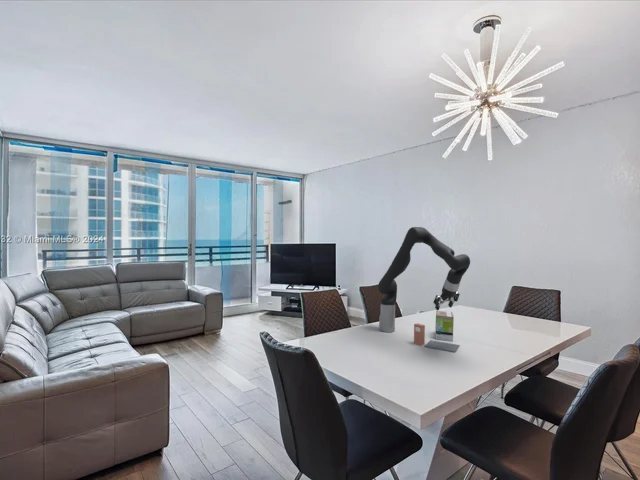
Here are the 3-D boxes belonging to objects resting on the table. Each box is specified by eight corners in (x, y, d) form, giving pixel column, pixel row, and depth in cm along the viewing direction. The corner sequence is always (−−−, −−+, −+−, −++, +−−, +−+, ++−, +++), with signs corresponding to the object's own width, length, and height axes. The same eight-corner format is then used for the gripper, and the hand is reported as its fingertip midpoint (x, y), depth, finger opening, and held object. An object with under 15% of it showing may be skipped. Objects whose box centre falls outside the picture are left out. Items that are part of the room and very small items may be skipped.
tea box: (453, 341, 197) (453, 316, 197) (435, 339, 201) (435, 315, 201) (452, 334, 212) (452, 311, 212) (435, 333, 215) (435, 309, 215)
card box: (421, 345, 189) (421, 325, 189) (413, 343, 193) (414, 324, 193) (424, 344, 191) (424, 325, 191) (417, 342, 195) (417, 323, 195)
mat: (424, 346, 187) (424, 345, 187) (430, 341, 198) (430, 340, 198) (455, 352, 178) (455, 351, 178) (459, 346, 189) (459, 344, 189)
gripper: (457, 279, 186) (449, 301, 195) (435, 284, 182) (428, 305, 191) (466, 288, 180) (457, 310, 190) (443, 293, 176) (436, 315, 186)
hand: (443, 307), depth 190 cm, fingers open, 8 cm apart
